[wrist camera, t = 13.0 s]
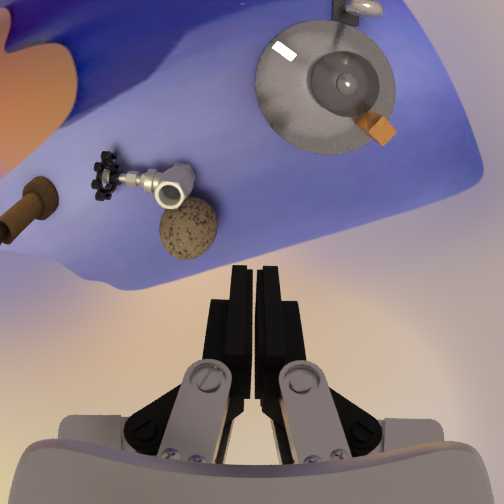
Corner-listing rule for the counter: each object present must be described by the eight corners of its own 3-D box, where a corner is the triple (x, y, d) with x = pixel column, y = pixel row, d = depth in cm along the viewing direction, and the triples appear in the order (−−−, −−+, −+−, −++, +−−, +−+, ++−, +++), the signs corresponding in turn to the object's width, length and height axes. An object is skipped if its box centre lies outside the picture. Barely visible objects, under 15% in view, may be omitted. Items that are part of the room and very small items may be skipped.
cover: (292, 80, 27) (298, 81, 23) (337, 40, 24) (349, 37, 20) (337, 124, 30) (348, 132, 26) (379, 86, 27) (395, 90, 23)
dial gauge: (329, -7, 22) (352, -27, 15) (358, -1, 23) (388, -17, 15) (328, 21, 25) (352, 7, 18) (358, 26, 25) (388, 17, 18)
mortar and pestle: (24, 183, 36) (-47, 245, 21) (49, 171, 35) (-29, 235, 20) (39, 217, 39) (-23, 286, 25) (64, 208, 39) (-2, 282, 24)
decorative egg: (211, 239, 42) (202, 285, 34) (164, 224, 41) (143, 267, 32) (227, 196, 38) (220, 236, 30) (176, 179, 37) (154, 215, 29)
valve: (200, 152, 35) (113, 143, 34) (190, 170, 29) (90, 159, 28) (195, 199, 39) (113, 188, 37) (185, 224, 33) (92, 210, 32)
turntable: (226, 96, 29) (221, 100, 25) (314, -3, 22) (325, -16, 17) (332, 176, 35) (344, 194, 30) (413, 88, 27) (436, 94, 23)
